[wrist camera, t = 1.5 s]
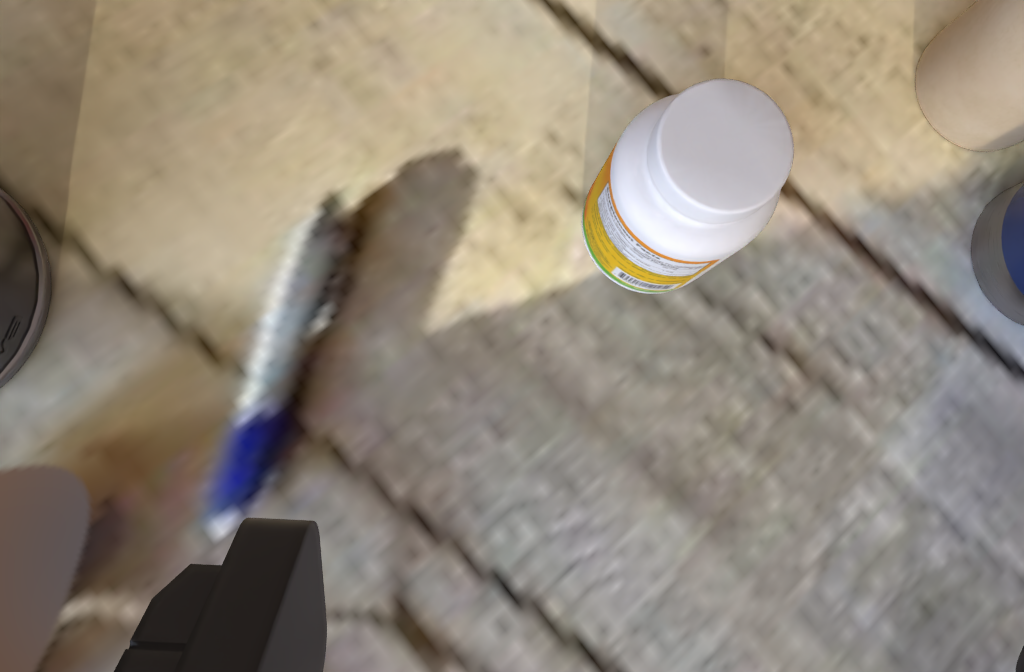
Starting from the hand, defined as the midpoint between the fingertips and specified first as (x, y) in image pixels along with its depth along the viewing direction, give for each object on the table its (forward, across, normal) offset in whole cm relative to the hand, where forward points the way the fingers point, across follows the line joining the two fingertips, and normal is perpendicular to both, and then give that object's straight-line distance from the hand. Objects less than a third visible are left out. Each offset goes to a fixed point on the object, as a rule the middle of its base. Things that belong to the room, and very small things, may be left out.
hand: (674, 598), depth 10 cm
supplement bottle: (+26, -3, +6) cm, 27 cm away
